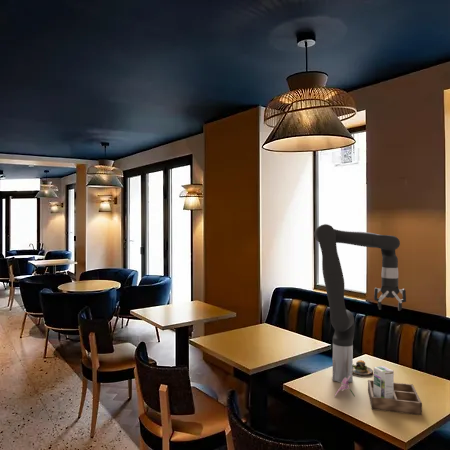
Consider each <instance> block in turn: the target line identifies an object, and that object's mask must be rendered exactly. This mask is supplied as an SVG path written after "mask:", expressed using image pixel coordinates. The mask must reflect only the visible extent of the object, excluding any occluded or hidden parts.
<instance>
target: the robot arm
mask: <svg viewBox="0 0 450 450" xmlns="http://www.w3.org/2000/svg"><path fill="white" fill-rule="evenodd" d="M313 234H314V235H313V236H314V239H315V240H316V241H317V242H318V243H319V248H320V251H321V262H322V263H321V265H322V266H321V267H322V269H321V270H322V271H321V272H322V276H323V281H324V286H325V290H326V295H327V300H328V306H329V315H330V323H331V325H332V328H333V329H334V332H333V336H332V381H335V382H337V383H340V384H341V383H342V380H343V379H344V378H345V377H346V378H348V377H349V375H350V374H351V373H352V374H351V375H350V376H351V377H350V378H349V380H348V384H349V383H350V384H351V383H352V382H353V375H354V373H353V364H354V362H353V361H354V360H353V357H354V356H353V355H354V354H353V353H354V352H353V349H354V344H353V341H354V337H355V317H354V315H353V313H352V312H351V311H350V310H348V309H347V308H346V305H345V279H344V275H343V274H344V273H343V269H342V264H341V261H340V257H339V253H338V248H337V247H338V246H337V244H347V245H352V246H357V247H365V248H366V247H367V248H377V249H380V251H381V257H382V258H381V259H382V260H381V265H382V266H381V274H380V275H381V287H380V288H377V287H374V289H373V290H374V295H373V299H374V301H376V302H377V308H378V310H382V301H383V300H384V299H385V298H389V299H391V298H392V299H394V298H395V299H396V300H397V302H398V303H397V311H399V312H401V310H402V308H403V303H406V302H407V295H406V294H407V293H406V289H405V288H402V289H400V288H399V259H398V256H397V255H396V250H397V249H398V248H399V247H400V246H401V242H400V239H399V237H397V236H396V235H388V234H387V235H386V234H377V233H375V232H374V233H373V232H367V231H366V232H365V231H353V230H352V231H349V230H341V229H335V228H334V227H333V226H332V225H330V224H328V223H324V224H321V225H319V226H317V227H316V228H315V230H314V233H313ZM379 293H381V295H380V296H379V298H378V294H379ZM399 293H400V294H401V297H402V299H400V297H399V296H398V294H399Z"/></svg>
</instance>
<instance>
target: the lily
mask: <svg viewBox="0 0 450 450" xmlns="http://www.w3.org/2000/svg"><path fill="white" fill-rule="evenodd" d="M351 374H352V373H351ZM351 374H350V375H351ZM350 375H349V377H348V378H346V377H345V378H344V379H343V380H342V383H340V385H341V386H340V387H339V388H338V389H337V391H336V393H335V394H334V398H335V397H336V396H337V394H338V393H339V392H340V391H344V390H349V391H350V392H351V394H352V395H353V396H354V397H355V396H356V395H355V393H354V392H353V391H352V389H351V388H350V386H349V385H350V384H349V383H348V380H349V378H350V377H351V376H350Z"/></svg>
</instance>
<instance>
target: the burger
mask: <svg viewBox="0 0 450 450" xmlns="http://www.w3.org/2000/svg"><path fill="white" fill-rule="evenodd" d="M353 374H354V375H355V374H356V375H361V376H368V375H371V376H374V369H372V368H370V367H368V366H367V365H366V361H364V360H362V359H359V360H357V361H356V364H354V363H353Z"/></svg>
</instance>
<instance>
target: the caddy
mask: <svg viewBox="0 0 450 450" xmlns="http://www.w3.org/2000/svg"><path fill="white" fill-rule="evenodd" d="M373 390H374V379H373V380H371V379H368V380H367V391H368V397H369V402H370V407H371V410H374V411H381V412H382V411H384V412H392V413H398V414H408V415H416V416H423V403H422V401H421V399H420V396H419V395H418V392H417V390H416V388H415V386H414V385H413V383H412V384H411V383H403V382H402V383H401V382H394V383H393V399H388V398H379V397H374V395H373Z"/></svg>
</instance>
